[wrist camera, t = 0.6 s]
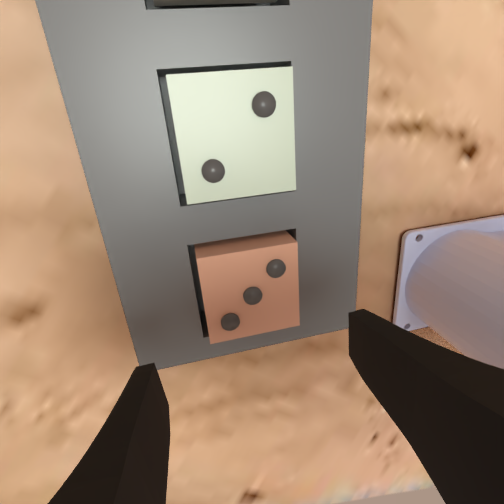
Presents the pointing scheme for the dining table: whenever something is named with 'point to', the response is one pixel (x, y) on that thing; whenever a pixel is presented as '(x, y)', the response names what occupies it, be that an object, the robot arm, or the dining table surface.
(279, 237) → the tile three
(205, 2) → the tile one
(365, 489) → the dining table surface
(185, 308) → the tile tray
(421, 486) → the dining table surface
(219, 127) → the tile two
